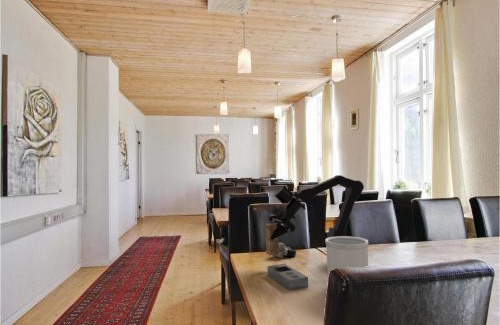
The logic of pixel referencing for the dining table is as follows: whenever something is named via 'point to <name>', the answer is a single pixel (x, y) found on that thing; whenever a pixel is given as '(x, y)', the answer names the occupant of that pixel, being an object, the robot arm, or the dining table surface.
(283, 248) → the caster wheel
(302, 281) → the grey peg hole block
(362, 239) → the utensil holder
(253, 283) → the dining table surface
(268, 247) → the walnut peg
